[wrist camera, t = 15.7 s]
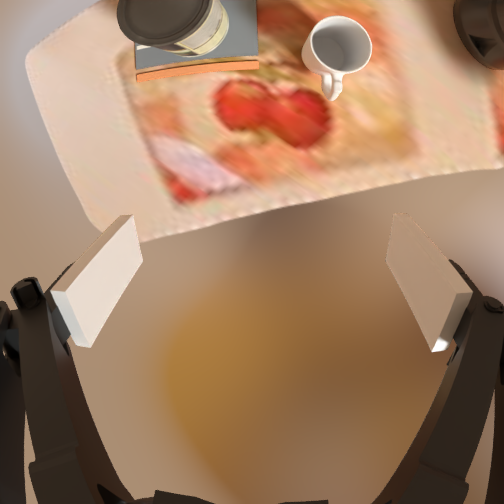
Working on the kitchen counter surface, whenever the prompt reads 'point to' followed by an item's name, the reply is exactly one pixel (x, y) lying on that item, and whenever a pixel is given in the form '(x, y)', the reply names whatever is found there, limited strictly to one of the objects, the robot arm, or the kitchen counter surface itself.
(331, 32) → the mug
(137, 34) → the coffee can
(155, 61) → the mat
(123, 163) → the kitchen counter surface
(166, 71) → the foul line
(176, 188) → the kitchen counter surface
